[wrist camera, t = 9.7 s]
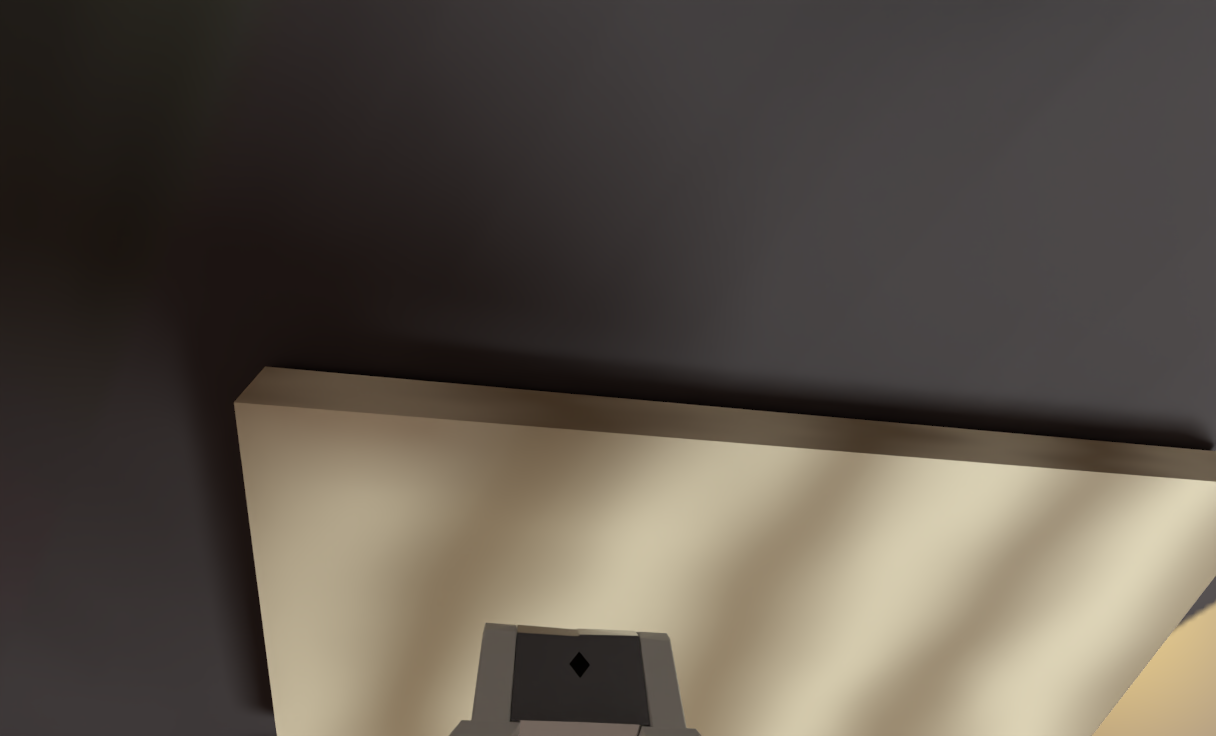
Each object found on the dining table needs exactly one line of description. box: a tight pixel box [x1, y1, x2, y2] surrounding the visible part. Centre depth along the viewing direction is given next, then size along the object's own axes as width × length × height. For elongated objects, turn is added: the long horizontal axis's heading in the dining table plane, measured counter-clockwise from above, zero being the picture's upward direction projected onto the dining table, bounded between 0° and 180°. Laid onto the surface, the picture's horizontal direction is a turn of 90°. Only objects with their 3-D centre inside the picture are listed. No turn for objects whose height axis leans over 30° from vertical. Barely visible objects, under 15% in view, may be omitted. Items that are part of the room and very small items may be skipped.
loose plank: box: [234, 367, 1216, 736], centre depth 17 cm, size 24×12×2 cm, turn 81°
